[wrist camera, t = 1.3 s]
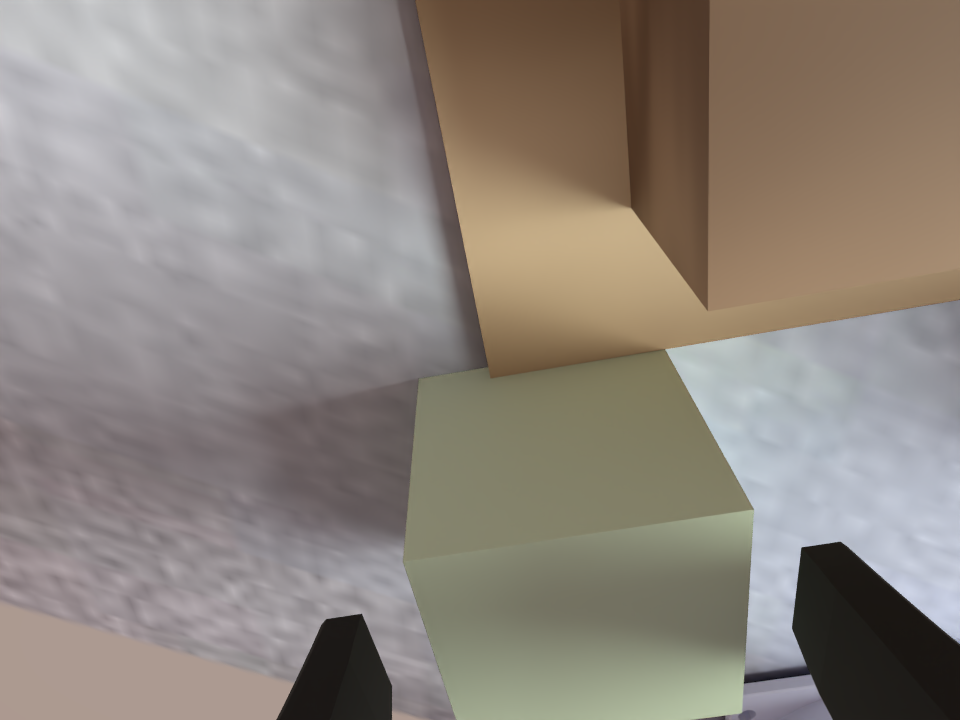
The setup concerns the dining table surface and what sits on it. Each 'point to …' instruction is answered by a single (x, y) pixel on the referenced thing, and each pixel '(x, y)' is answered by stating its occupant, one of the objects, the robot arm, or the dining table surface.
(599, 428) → the green cube
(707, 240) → the walnut block
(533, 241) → the cork mat
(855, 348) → the dining table surface
